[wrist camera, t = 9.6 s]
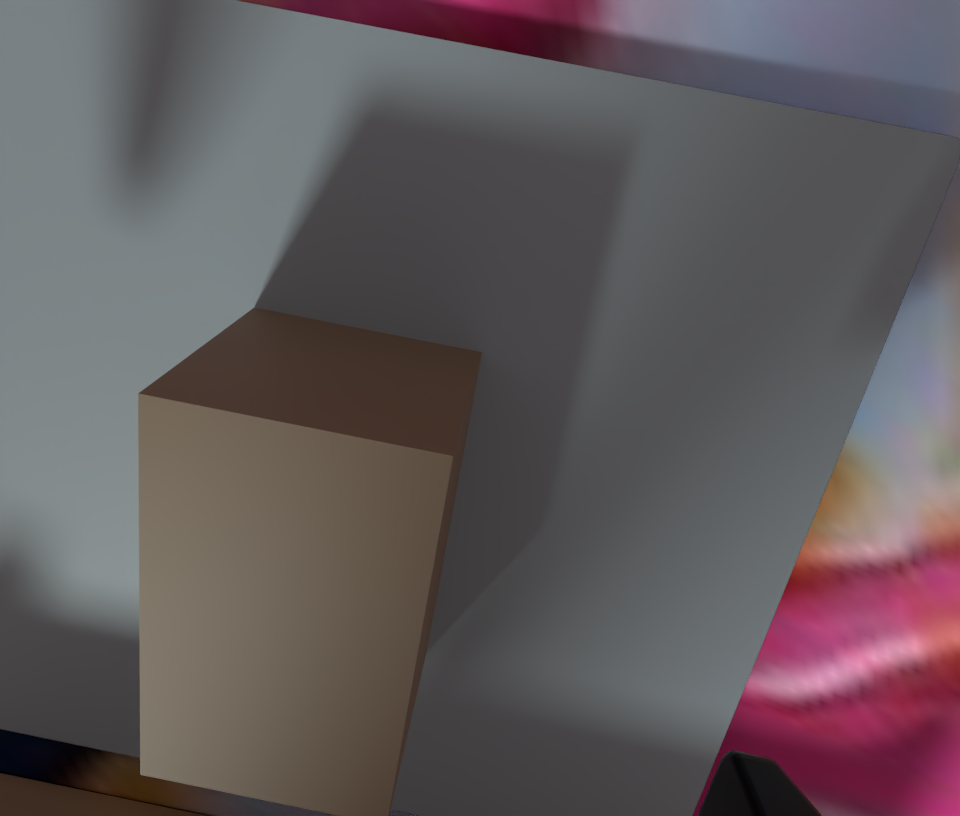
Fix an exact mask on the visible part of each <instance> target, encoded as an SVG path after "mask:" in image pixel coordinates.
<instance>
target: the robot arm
mask: <svg viewBox="0 0 960 816" xmlns="http://www.w3.org/2000/svg"><path fill="white" fill-rule="evenodd" d="M699 816H822V815H821V814H820V813H819V812H818V811H817V809H816V808H815V807H814V806H813V805H812V803H811V802H810V801H809V800H808V799H807V798H806V796H805V795H804V794H803V793H802V792H801V791H800V789H799V788H798V787H797V786H796V785H795V783H794V782H793V781H792V780H791V779H790V778H789V776H788V775H787V774H786V773H785V772H784V771H783V769H782V768H781V767H780V766H779V765H778V764H777V763H776V762H775V761H774V760H772V759H770V758H768V757H765V756H760V755H755V754H751V753H746V752H741V751H735V750H734V751H729V752H727V753H726V754H725V755H724V756H723V758H722V759H721V761H720V763H719V766H718V768H717V771H716V773H715V776H714V778H713V781H712V783H711V785H710V788H709V790H708V793H707V795H706V798H705V800H704V802H703V805H702V807H701V810H700V814H699Z"/></svg>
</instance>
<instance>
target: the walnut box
mask: <svg viewBox="0 0 960 816" xmlns="http://www.w3.org/2000/svg"><path fill="white" fill-rule="evenodd" d="M0 816H205V815H200V814H195V813H191V812H186V811H181V810H176V809H171V808H166V807H162V806H157V805H152V804H147V803H142V802H137V801H133V800H128V799H123V798H118V797H113V796H109V795H104V794H99V793H94V792H89V791H84V790H80V789H75V788H70V787H65V786H60V785H55V784H51V783H46V782H41V781H36V780H31V779H26V778H22V777H17V776H12V775H7V774H2V773H0Z"/></svg>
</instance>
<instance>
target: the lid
mask: <svg viewBox="0 0 960 816" xmlns="http://www.w3.org/2000/svg"><path fill="white" fill-rule="evenodd" d="M959 160H960V138H958V137H953V136H948V135H942V134H937V133H932V132H926V131H921V130H916V129H911V128H905V127H900V126H895V125H890V124H884V123H879V122H874V121H869V120H863V119H858V118H853V117H848V116H842V115H837V114H832V113H827V112H821V111H816V110H811V109H805V108H800V107H795V106H790V105H784V104H779V103H774V102H769V101H763V100H758V99H753V98H748V97H742V96H737V95H732V94H727V93H721V92H716V91H711V90H706V89H700V88H695V87H690V86H684V85H679V84H674V83H669V82H663V81H658V80H653V79H648V78H642V77H637V76H632V75H627V74H621V73H616V72H611V71H606V70H600V69H595V68H590V67H585V66H579V65H574V64H569V63H564V62H558V61H553V60H548V59H542V58H537V57H532V56H527V55H521V54H516V53H511V52H506V51H500V50H495V49H490V48H485V47H479V46H474V45H469V44H464V43H458V42H453V41H448V40H443V39H437V38H432V37H427V36H421V35H416V34H411V33H406V32H400V31H395V30H390V29H385V28H379V27H374V26H369V25H364V24H358V23H353V22H348V21H343V20H337V19H332V18H327V17H322V16H316V15H311V14H306V13H300V12H295V11H290V10H285V9H279V8H274V7H269V6H264V5H258V4H253V3H248V2H243V1H237V0H0V729H3V730H8V731H12V732H17V733H22V734H27V735H32V736H37V737H41V738H46V739H51V740H56V741H61V742H66V743H70V744H75V745H80V746H85V747H90V748H95V749H99V750H104V751H109V752H114V753H119V754H124V755H128V756H133V757H138V758H140V775H144V776H149V777H154V778H158V779H163V780H168V781H173V782H178V783H183V784H187V785H192V786H197V787H202V788H207V789H211V790H216V791H221V792H226V793H231V794H236V795H240V796H245V797H250V798H255V799H260V800H265V801H269V802H274V803H279V804H284V805H289V806H293V807H298V808H303V809H308V810H313V811H318V812H322V813H327V814H332V815H337V816H389V813H390V810H394V811H399V812H404V813H409V814H413V815H418V816H693V813H694V811H695V808H696V806H697V803H698V801H699V798H700V796H701V793H702V791H703V789H704V786H705V784H706V781H707V779H708V776H709V774H710V771H711V769H712V766H713V764H714V762H715V759H716V757H717V754H718V752H719V749H720V747H721V744H722V742H723V739H724V737H725V735H726V732H727V730H728V727H729V725H730V722H731V720H732V717H733V715H734V712H735V710H736V708H737V705H738V703H739V700H740V698H741V695H742V693H743V690H744V688H745V685H746V683H747V681H748V678H749V676H750V673H751V671H752V668H753V666H754V663H755V661H756V658H757V656H758V654H759V651H760V649H761V646H762V644H763V641H764V639H765V636H766V634H767V631H768V629H769V627H770V624H771V622H772V619H773V617H774V614H775V612H776V609H777V607H778V604H779V602H780V600H781V597H782V595H783V592H784V590H785V587H786V585H787V582H788V580H789V577H790V575H791V573H792V570H793V568H794V565H795V563H796V560H797V558H798V555H799V553H800V550H801V548H802V545H803V543H804V541H805V538H806V536H807V533H808V531H809V528H810V526H811V523H812V521H813V518H814V516H815V514H816V511H817V509H818V506H819V504H820V501H821V499H822V496H823V494H824V491H825V489H826V487H827V484H828V482H829V479H830V477H831V474H832V472H833V469H834V467H835V464H836V462H837V460H838V457H839V455H840V452H841V450H842V447H843V445H844V442H845V440H846V437H847V435H848V433H849V430H850V428H851V425H852V423H853V420H854V418H855V415H856V413H857V410H858V408H859V406H860V403H861V401H862V398H863V396H864V393H865V391H866V388H867V386H868V383H869V381H870V379H871V376H872V374H873V371H874V369H875V366H876V364H877V361H878V359H879V356H880V354H881V352H882V349H883V347H884V344H885V342H886V339H887V337H888V334H889V332H890V329H891V327H892V325H893V322H894V320H895V317H896V315H897V312H898V310H899V307H900V305H901V302H902V300H903V298H904V295H905V293H906V290H907V288H908V285H909V283H910V280H911V278H912V275H913V273H914V270H915V268H916V266H917V263H918V261H919V258H920V256H921V253H922V251H923V248H924V246H925V243H926V241H927V239H928V236H929V234H930V231H931V229H932V226H933V224H934V221H935V219H936V216H937V214H938V212H939V209H940V207H941V204H942V202H943V199H944V197H945V194H946V192H947V189H948V187H949V185H950V182H951V180H952V177H953V175H954V172H955V170H956V167H957V165H958V162H959Z"/></svg>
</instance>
